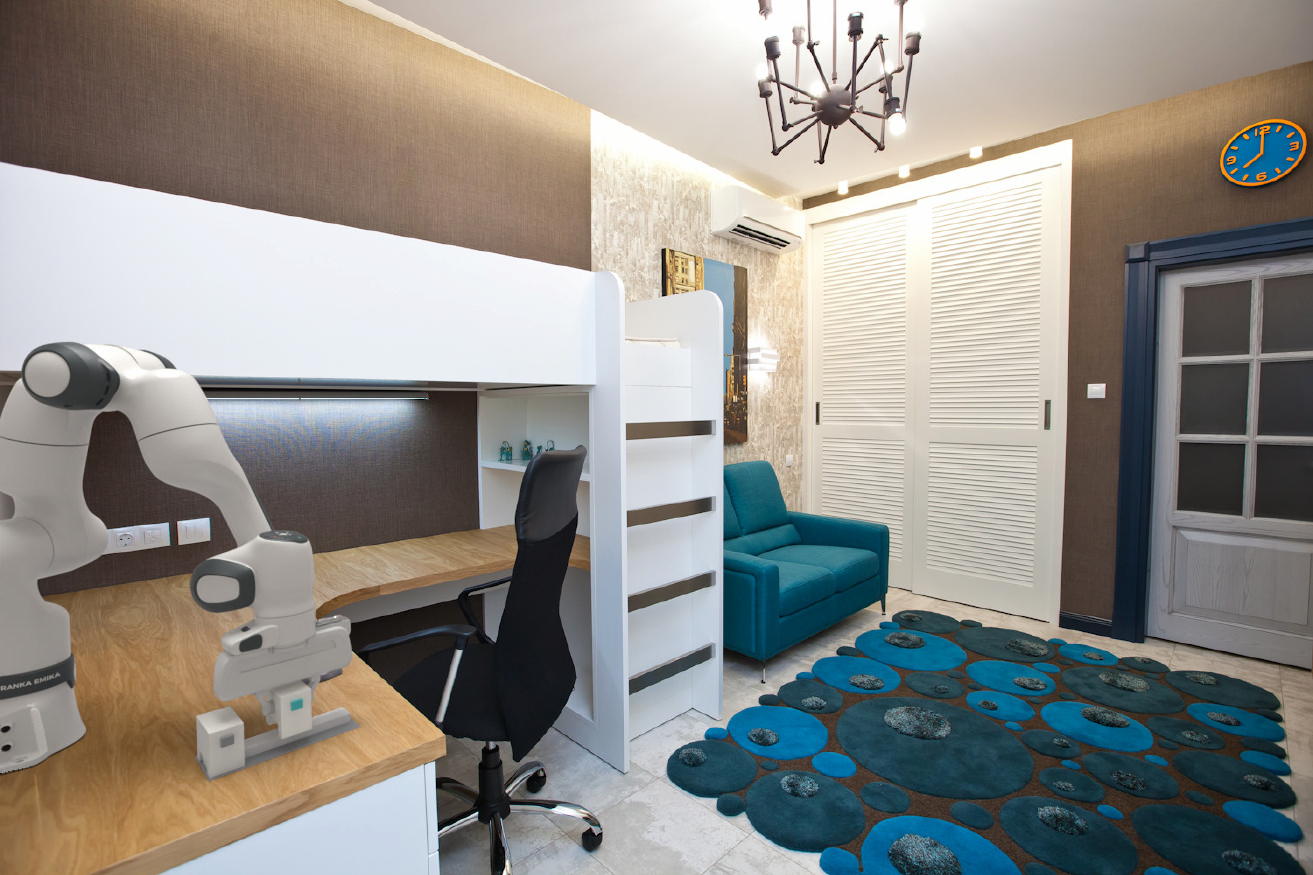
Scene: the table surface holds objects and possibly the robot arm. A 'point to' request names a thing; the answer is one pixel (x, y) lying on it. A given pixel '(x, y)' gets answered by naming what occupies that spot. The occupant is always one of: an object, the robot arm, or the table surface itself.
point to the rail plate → (288, 747)
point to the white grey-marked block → (220, 741)
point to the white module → (290, 708)
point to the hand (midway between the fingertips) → (288, 707)
